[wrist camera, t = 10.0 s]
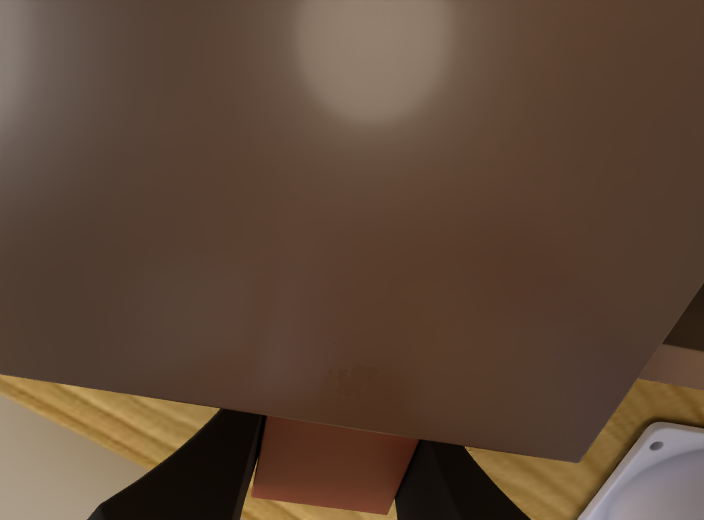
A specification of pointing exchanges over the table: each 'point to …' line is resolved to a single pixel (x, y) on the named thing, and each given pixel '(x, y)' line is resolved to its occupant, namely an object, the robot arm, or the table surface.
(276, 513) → the table surface
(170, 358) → the cabinet
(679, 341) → the drawer
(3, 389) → the table surface
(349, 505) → the block
